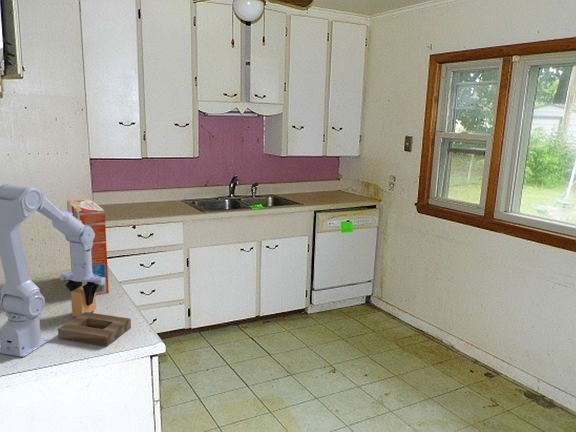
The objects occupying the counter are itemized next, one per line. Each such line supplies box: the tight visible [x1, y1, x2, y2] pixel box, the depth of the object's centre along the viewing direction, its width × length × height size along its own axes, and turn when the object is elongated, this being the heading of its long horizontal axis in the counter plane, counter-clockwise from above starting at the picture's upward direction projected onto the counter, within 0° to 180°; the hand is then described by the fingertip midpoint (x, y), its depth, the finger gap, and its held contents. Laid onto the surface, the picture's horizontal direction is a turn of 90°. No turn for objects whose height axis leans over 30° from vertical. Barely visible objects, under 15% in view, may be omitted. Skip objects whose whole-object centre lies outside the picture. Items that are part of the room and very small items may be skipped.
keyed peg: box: [70, 286, 97, 318], centre depth 146 cm, size 4×7×8 cm, turn 167°
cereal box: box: [66, 198, 109, 296], centre depth 168 cm, size 23×8×30 cm, turn 35°
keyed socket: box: [57, 312, 132, 348], centre depth 135 cm, size 12×16×3 cm
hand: (84, 303), depth 146 cm, fingers closed on keyed peg, 3 cm apart
